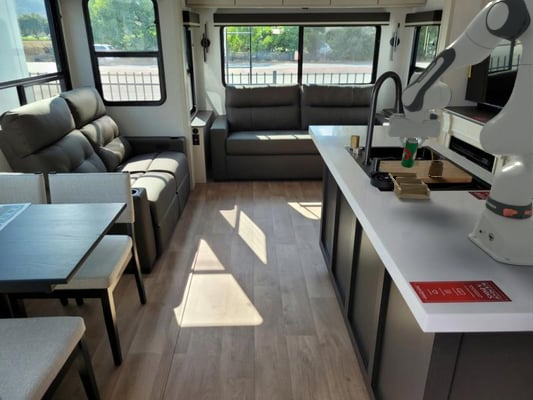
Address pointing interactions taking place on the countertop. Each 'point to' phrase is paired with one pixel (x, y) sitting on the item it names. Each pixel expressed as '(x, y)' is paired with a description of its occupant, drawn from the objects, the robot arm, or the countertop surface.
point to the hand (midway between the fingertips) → (410, 147)
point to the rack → (409, 185)
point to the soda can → (409, 152)
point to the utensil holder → (436, 167)
